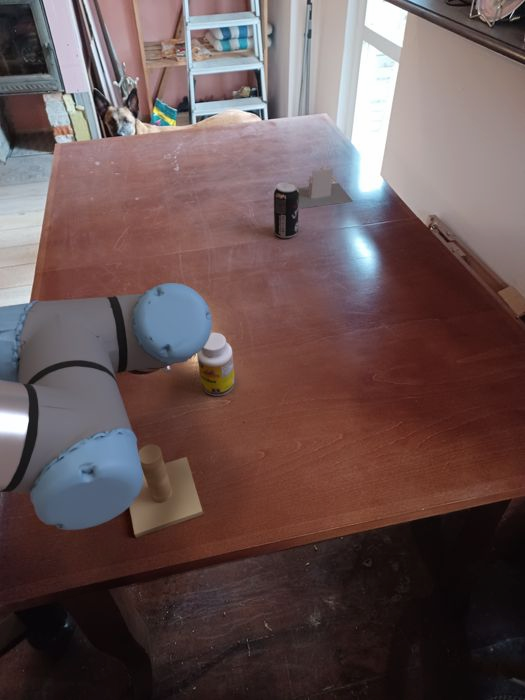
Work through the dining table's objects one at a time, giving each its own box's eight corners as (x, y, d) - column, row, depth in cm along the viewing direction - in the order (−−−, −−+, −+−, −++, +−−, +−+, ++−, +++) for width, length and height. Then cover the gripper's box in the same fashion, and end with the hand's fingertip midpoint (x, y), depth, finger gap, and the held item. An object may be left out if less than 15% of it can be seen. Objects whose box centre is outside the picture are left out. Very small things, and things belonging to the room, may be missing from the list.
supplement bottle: (195, 385, 80) (187, 341, 73) (219, 368, 83) (214, 323, 76) (217, 403, 77) (211, 359, 70) (242, 384, 80) (238, 340, 73)
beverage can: (293, 226, 117) (294, 179, 109) (300, 237, 113) (303, 190, 105) (271, 229, 116) (270, 182, 108) (277, 241, 112) (278, 193, 104)
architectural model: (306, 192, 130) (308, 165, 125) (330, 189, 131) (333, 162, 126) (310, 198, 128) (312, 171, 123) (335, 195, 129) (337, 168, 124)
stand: (135, 538, 62) (117, 497, 54) (125, 479, 68) (107, 436, 60) (203, 514, 64) (194, 472, 56) (187, 460, 70) (177, 415, 62)
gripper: (60, 419, 53) (55, 418, 72) (242, 327, 64) (196, 347, 83) (27, 359, 52) (31, 374, 71) (217, 276, 63) (176, 308, 82)
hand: (119, 359), depth 77 cm, fingers open, 13 cm apart
